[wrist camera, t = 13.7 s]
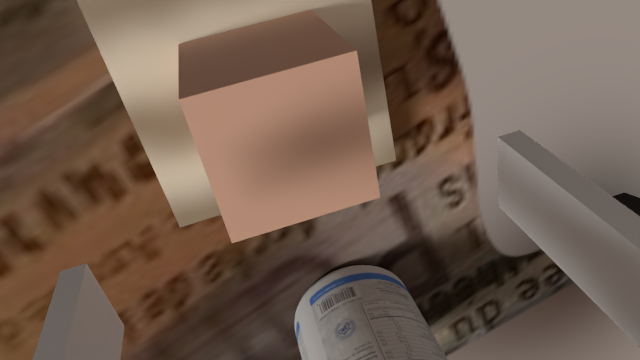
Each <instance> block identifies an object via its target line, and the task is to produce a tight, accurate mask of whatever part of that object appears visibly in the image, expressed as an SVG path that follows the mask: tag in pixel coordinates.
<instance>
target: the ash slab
mask: <svg viewBox="0 0 640 360" xmlns="http://www.w3.org/2000/svg"><path fill="white" fill-rule="evenodd" d="M77 2H78V4H79V6H80V9H81V11H82V13H83V15H84V17H85V20H86V22H87V24H88V26H89V28H90V31H91V33H92V35H93V37H94V39H95V42H96V44H97V46H98V48H99V50H100V53H101V55H102V57H103V59H104V61H105V63H106V66H107V68H108V70H109V72H110V74H111V77H112V79H113V81H114V83H115V85H116V88H117V90H118V92H119V94H120V96H121V99H122V101H123V103H124V105H125V107H126V110H127V112H128V114H129V116H130V118H131V121H132V123H133V125H134V127H135V129H136V132H137V134H138V136H139V138H140V140H141V143H142V145H143V147H144V149H145V151H146V154H147V156H148V158H149V160H150V162H151V164H152V167H153V169H154V171H155V173H156V175H157V178H158V180H159V182H160V184H161V186H162V189H163V191H164V193H165V195H166V197H167V200H168V202H169V204H170V206H171V208H172V211H173V213H174V215H175V217H176V219H177V222H178V224H179V226H180V227H183V226H186V225H189V224H192V223H196V222H199V221H202V220H205V219H208V218H212V217H215V216H218V215H221V212H220V209H219V207H218V204H217V201H216V199H215V196H214V193H213V191H212V188H211V185H210V183H209V180H208V177H207V175H206V172H205V169H204V166H203V164H202V161H201V158H200V156H199V153H198V150H197V148H196V145H195V142H194V140H193V137H192V134H191V132H190V129H189V126H188V123H187V121H186V118H185V115H184V113H183V110H182V107H181V105H180V102H179V81H178V44H181V43H185V42H189V41H193V40H196V39H200V38H204V37H208V36H212V35H215V34H219V33H223V32H227V31H231V30H234V29H238V28H242V27H246V26H250V25H253V24H257V23H261V22H265V21H269V20H272V19H276V18H280V17H284V16H287V15H291V14H295V13H299V12H303V11H306V10H310V9H311V10H312V11H313V12H314V13H315V14H316V15H318V16H319V17H320V18H321V19H322V20H323V21H324V22H325V23H327V24H328V25H329V26H330V27H331V28H332V29H333V30H334V31H336V32H337V33H338V34H339V35H340V36H341V37H342V38H343V39H345V40H346V41H347V42H348V43H349V44H350V45H351V46H352V47H354V48H355V49H356V50H357V54H358V61H359V67H360V73H361V80H362V86H363V92H364V99H365V105H366V111H367V118H368V124H369V130H370V136H371V143H372V149H373V155H374V162H375V167H376V166H379V165H382V164H386V163H389V162H392V161H395V160H396V157H395V150H394V144H393V137H392V131H391V124H390V118H389V111H388V105H387V98H386V92H385V85H384V79H383V72H382V66H381V59H380V53H379V46H378V40H377V33H376V27H375V20H374V14H373V7H372V1H371V0H77Z"/></svg>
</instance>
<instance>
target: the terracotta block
mask: <svg viewBox="0 0 640 360" xmlns="http://www.w3.org/2000/svg"><path fill="white" fill-rule="evenodd" d="M178 81H179V102H180V105H181V107H182V110H183V113H184V115H185V118H186V121H187V123H188V126H189V129H190V132H191V134H192V137H193V140H194V142H195V145H196V148H197V150H198V153H199V156H200V158H201V161H202V164H203V166H204V169H205V172H206V175H207V177H208V180H209V183H210V185H211V188H212V191H213V193H214V196H215V199H216V201H217V204H218V207H219V209H220V212H221V215H222V218H223V220H224V223H225V226H226V228H227V231H228V234H229V236H230V239H231V242H232V243H234V242H238V241H241V240H244V239H247V238H251V237H254V236H257V235H260V234H263V233H267V232H270V231H273V230H276V229H280V228H283V227H286V226H289V225H293V224H296V223H299V222H302V221H306V220H309V219H312V218H315V217H318V216H322V215H325V214H328V213H331V212H335V211H338V210H341V209H344V208H348V207H351V206H354V205H357V204H361V203H364V202H367V201H370V200H373V199H377V198H380V193H379V187H378V181H377V174H376V168H375V162H374V155H373V149H372V143H371V136H370V130H369V124H368V118H367V111H366V105H365V99H364V92H363V86H362V80H361V73H360V67H359V61H358V54H357V50H356V49H355V48H354V47H352V46H351V45H350V44H349V43H348V42H347V41H346V40H345V39H343V38H342V37H341V36H340V35H339V34H338V33H337V32H336V31H334V30H333V29H332V28H331V27H330V26H329V25H328V24H327V23H325V22H324V21H323V20H322V19H321V18H320V17H319V16H318V15H316V14H315V13H314V12H313V11H312V10H311V9H310V10H306V11H303V12H299V13H295V14H291V15H287V16H284V17H280V18H276V19H272V20H269V21H265V22H261V23H257V24H253V25H250V26H246V27H242V28H238V29H234V30H231V31H227V32H223V33H219V34H215V35H212V36H208V37H204V38H200V39H196V40H193V41H189V42H185V43H181V44H178Z"/></svg>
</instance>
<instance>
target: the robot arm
mask: <svg viewBox="0 0 640 360" xmlns="http://www.w3.org/2000/svg"><path fill="white" fill-rule="evenodd" d="M498 201H499V207H500V208H501V209H502V210H503V211H504V212H505V213H506V214H507V215H508V216H509V217H510V218H511V219H512V220H513V221H514V222H515V223H516V224H517V225H518V226H519V227H520V228H521V229H522V230H523V231H524V232H525V233H526V234H527V235H528V236H529V237H530V238H531V239H532V240H533V241H534V242H535V243H536V244H537V245H538V246H539V247H540V248H541V249H542V250H543V251H544V252H545V253H546V254H547V255H548V256H549V257H550V258H551V259H552V260H553V261H554V262H555V263H556V264H557V265H558V266H559V267H560V268H561V269H562V270H563V271H564V272H565V273H566V274H567V275H568V276H569V277H570V278H571V279H572V280H573V281H574V282H575V283H576V284H577V285H578V286H579V287H580V288H581V289H582V290H583V291H584V292H585V293H586V294H587V295H588V296H589V297H590V298H591V299H592V300H593V301H594V302H595V303H596V304H597V305H598V306H599V307H600V308H601V309H602V310H603V311H604V312H605V313H606V314H607V315H608V316H609V317H610V318H611V319H612V320H613V321H614V322H615V323H616V324H617V325H618V326H619V327H620V328H621V329H622V330H623V331H624V332H625V333H626V334H627V335H628V336H629V337H630V338H631V339H632V340H633V341H634V342H635V343H636V344H637V345H638V346H639V347H640V198H638V197H635V196H633V195H629V194H627V193H622V194H619V195H616V196H613V197H612V196H610V195H609V194H608V193H606V192H605V191H604V190H602V189H601V188H599V187H598V186H597V185H595V184H594V183H592V182H591V181H590V180H588V179H587V178H586V177H584V176H583V175H581V174H580V173H578V172H577V171H576V170H574V169H573V168H572V167H570V166H569V165H567V164H566V163H565V162H563V161H562V160H561V159H559V158H558V157H556V156H555V155H553V154H552V153H551V152H549V151H548V150H547V149H545V148H543V147H542V146H541V145H540V144H538V143H537V142H535V141H534V140H533V139H531V138H530V137H528V136H527V135H526V134H524V133H523V132H521V131H520V130H519V131H516V132H513V133H509V134H506V135H503V136H500V137H498ZM123 334H124V325H123V323H122V321H121V320H120V318H119V316H118V315H117V313H116V312H115V310H114V308H113V307H112V305H111V303H110V302H109V300H108V298H107V297H106V295H105V293H104V292H103V290H102V288H101V287H100V285H99V283H98V282H97V280H96V278H95V277H94V275H93V274H92V272H91V270H90V269H89V267H88V265H87V264H83V265H80V266H76V267H73V268H70V269H67V270H63V271H60V274H59V277H58V280H57V283H56V287H55V290H54V293H53V296H52V300H51V303H50V306H49V309H48V312H47V316H46V319H45V322H44V325H43V328H42V332H41V335H40V338H39V341H38V344H37V348H36V351H35V354H34V357H33V360H120V357H121V349H122V341H123Z"/></svg>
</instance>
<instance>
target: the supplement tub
mask: <svg viewBox="0 0 640 360" xmlns="http://www.w3.org/2000/svg"><path fill="white" fill-rule="evenodd" d="M295 333H296V337H297V342H298V346H299V349H300V353H301V357H302V360H448V359H447V357H446V356H445V354H444V352H443V350H442V349H441V347H440V345H439V344H438V342H437V340H436V338H435V337H434V335H433V333H432V331H431V330H430V328H429V326H428V325H427V323H426V321H425V319H424V318H423V316H422V314H421V312H420V311H419V309H418V307H417V305H416V304H415V302H414V300H413V299H412V297H411V295H410V293H409V292H408V290H407V289H406V287H405V285H404V284H403V282H402V281H401V280H400V279H399V278H398V277H397V276H396V275H395V274H393V273H392V272H390V271H388V270H386V269H383V268H381V267H377V266H371V265H355V266H349V267H345V268H341V269H338V270H336V271H333V272H331V273H329V274H327V275H326V276H324V277H323V278H321V279H320V280H318V281H317V282H316V283H314V284H313V285H312V286H311V287H310V288H309V289H308V290H307V292H306V293H305V294H304V296H303V297H302V299H301V300H300V302H299V305H298V307H297V310H296V314H295Z"/></svg>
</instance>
